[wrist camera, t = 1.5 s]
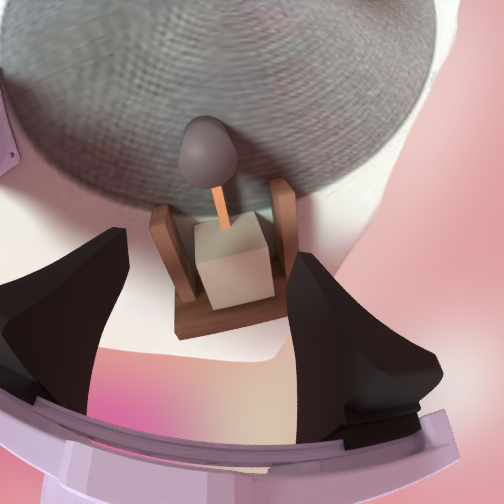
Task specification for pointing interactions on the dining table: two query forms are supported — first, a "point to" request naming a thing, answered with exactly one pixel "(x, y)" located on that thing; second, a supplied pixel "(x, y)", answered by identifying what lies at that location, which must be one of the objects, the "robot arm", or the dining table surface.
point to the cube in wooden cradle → (192, 289)
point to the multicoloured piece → (224, 222)
